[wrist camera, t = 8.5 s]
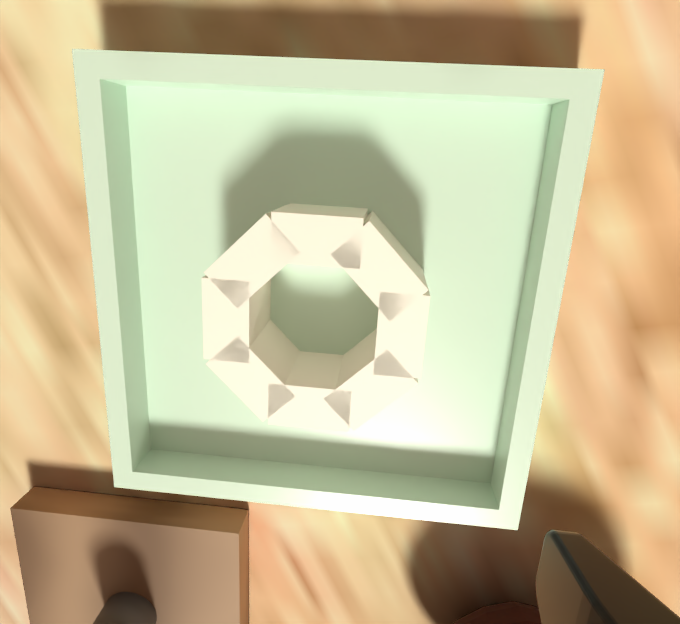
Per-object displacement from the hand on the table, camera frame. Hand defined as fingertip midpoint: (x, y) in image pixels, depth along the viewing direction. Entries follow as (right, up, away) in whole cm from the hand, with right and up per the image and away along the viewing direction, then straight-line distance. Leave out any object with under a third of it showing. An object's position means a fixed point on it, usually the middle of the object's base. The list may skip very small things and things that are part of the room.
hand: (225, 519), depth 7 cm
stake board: (-8, -10, +17) cm, 21 cm away
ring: (+1, +3, +11) cm, 12 cm away
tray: (+1, +4, +12) cm, 12 cm away
